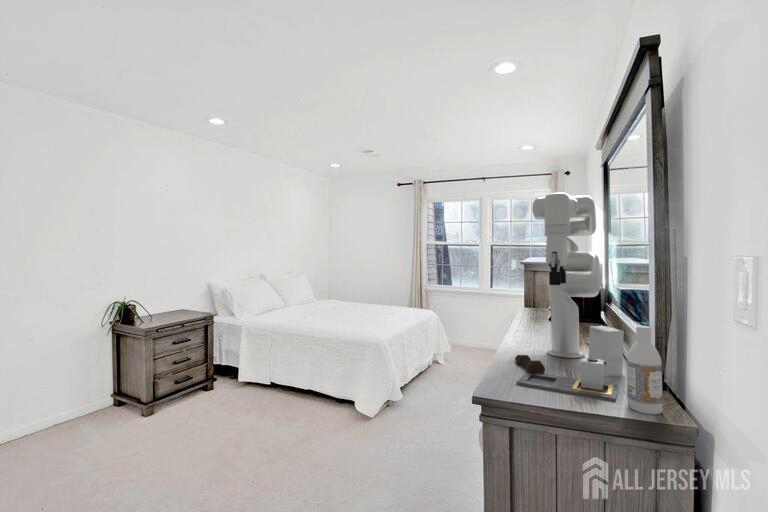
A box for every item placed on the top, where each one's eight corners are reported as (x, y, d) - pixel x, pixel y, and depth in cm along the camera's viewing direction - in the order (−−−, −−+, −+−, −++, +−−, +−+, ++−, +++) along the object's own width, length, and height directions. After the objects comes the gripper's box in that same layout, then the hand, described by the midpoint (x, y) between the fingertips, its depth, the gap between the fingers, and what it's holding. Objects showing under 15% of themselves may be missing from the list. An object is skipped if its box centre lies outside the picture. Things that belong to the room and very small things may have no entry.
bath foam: (645, 416, 88) (644, 329, 89) (620, 405, 95) (619, 324, 95) (669, 413, 90) (668, 328, 90) (643, 403, 97) (642, 323, 97)
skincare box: (587, 372, 123) (587, 325, 123) (604, 371, 124) (604, 325, 124) (607, 380, 115) (606, 330, 115) (625, 379, 116) (624, 329, 116)
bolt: (521, 369, 133) (539, 382, 118) (508, 362, 133) (524, 374, 118) (529, 355, 133) (548, 365, 118) (516, 347, 133) (533, 357, 118)
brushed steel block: (583, 386, 107) (583, 356, 107) (604, 389, 104) (603, 358, 104) (581, 391, 103) (580, 360, 103) (602, 395, 100) (602, 363, 100)
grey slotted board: (527, 377, 119) (527, 370, 119) (618, 391, 105) (618, 384, 105) (516, 388, 109) (516, 381, 109) (615, 405, 95) (615, 397, 95)
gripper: (550, 233, 134) (550, 282, 134) (539, 230, 120) (539, 285, 120) (573, 232, 130) (574, 282, 130) (565, 229, 116) (566, 286, 115)
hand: (557, 284), depth 125 cm, fingers open, 9 cm apart
